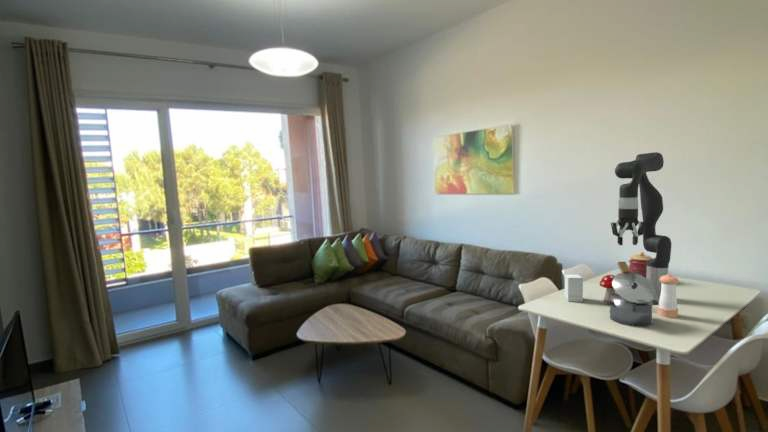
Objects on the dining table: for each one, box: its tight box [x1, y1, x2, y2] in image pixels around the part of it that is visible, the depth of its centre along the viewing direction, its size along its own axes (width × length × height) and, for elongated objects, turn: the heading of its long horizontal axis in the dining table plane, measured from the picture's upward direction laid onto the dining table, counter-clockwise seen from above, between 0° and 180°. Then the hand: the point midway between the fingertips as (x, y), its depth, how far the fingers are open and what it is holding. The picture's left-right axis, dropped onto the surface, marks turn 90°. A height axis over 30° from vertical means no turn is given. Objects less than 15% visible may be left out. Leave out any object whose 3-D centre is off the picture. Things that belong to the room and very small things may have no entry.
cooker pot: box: [603, 292, 659, 328], centre depth 177 cm, size 22×18×10 cm
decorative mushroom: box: [599, 274, 616, 307], centre depth 200 cm, size 10×9×15 cm
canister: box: [628, 251, 654, 278], centre depth 238 cm, size 13×13×18 cm
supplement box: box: [564, 274, 584, 303], centre depth 209 cm, size 7×7×13 cm
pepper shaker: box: [657, 273, 679, 319], centre depth 182 cm, size 7×7×19 cm
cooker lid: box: [612, 261, 656, 305], centre depth 177 cm, size 17×23×3 cm
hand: (627, 244), depth 179 cm, fingers open, 5 cm apart
